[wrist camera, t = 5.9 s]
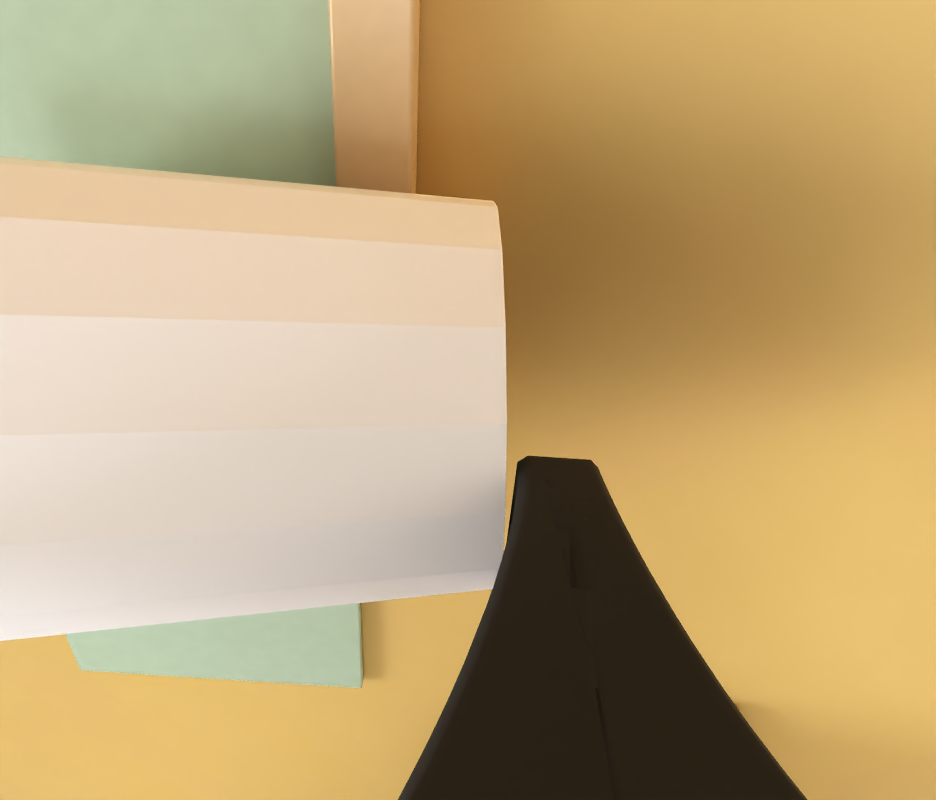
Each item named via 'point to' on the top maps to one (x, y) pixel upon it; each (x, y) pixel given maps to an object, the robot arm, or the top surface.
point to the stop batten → (375, 92)
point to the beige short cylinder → (242, 396)
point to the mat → (197, 152)
